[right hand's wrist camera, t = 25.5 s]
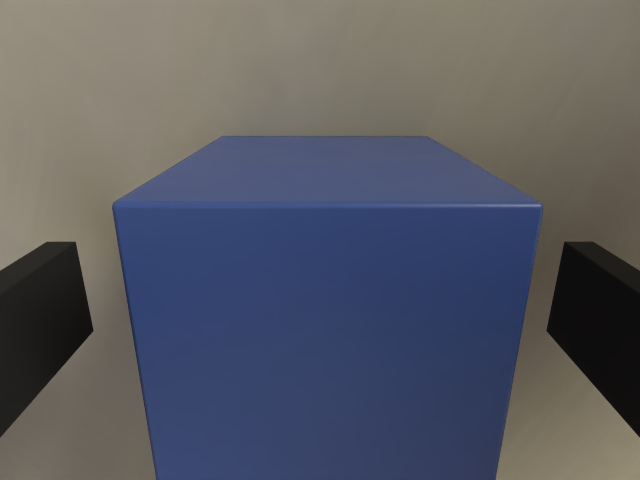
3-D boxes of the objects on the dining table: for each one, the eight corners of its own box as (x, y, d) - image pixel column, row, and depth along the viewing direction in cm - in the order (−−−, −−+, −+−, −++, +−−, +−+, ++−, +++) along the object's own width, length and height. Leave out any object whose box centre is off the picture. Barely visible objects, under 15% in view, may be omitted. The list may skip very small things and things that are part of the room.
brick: (235, 335, 17) (164, 544, 9) (220, 135, 14) (108, 202, 7) (413, 335, 17) (485, 545, 9) (429, 136, 14) (547, 203, 7)
